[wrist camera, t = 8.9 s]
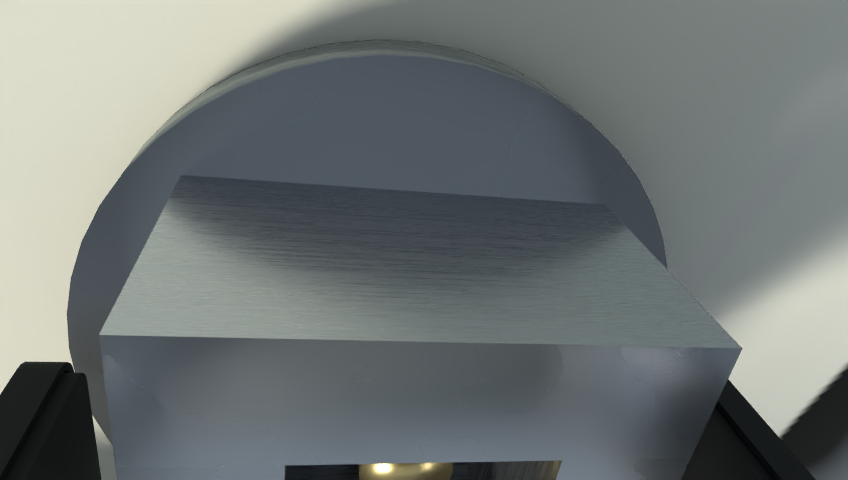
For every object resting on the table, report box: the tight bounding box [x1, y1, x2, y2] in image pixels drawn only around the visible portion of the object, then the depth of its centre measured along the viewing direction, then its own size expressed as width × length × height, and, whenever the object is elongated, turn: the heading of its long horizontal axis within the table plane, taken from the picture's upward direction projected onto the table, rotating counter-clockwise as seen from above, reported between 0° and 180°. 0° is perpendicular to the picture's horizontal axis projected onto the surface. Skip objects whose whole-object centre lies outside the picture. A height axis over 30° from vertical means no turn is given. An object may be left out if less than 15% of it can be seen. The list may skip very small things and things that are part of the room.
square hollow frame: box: [99, 175, 742, 480], centre depth 10 cm, size 7×7×4 cm
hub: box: [67, 40, 667, 480], centre depth 11 cm, size 11×11×4 cm
